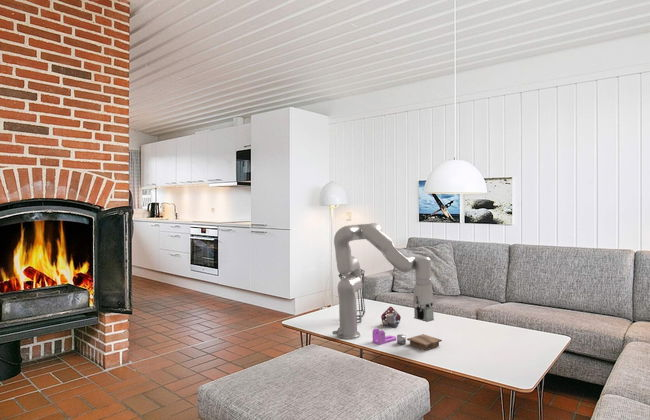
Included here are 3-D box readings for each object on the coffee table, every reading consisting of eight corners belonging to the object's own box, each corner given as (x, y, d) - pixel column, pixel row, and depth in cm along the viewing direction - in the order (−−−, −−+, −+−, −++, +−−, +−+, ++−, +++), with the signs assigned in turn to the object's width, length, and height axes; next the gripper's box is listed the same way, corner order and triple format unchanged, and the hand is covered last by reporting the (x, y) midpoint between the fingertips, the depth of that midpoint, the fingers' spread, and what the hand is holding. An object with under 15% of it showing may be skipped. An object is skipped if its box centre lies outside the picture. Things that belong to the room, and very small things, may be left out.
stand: (425, 351, 202) (425, 344, 202) (407, 344, 212) (407, 338, 212) (441, 345, 209) (441, 339, 209) (423, 339, 219) (423, 334, 219)
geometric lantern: (366, 324, 248) (363, 266, 248) (339, 324, 251) (337, 266, 250) (367, 317, 264) (365, 262, 263) (342, 317, 266) (340, 262, 266)
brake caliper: (400, 318, 252) (400, 305, 245) (401, 333, 243) (400, 321, 236) (381, 317, 254) (380, 305, 247) (381, 333, 246) (380, 320, 238)
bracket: (379, 345, 213) (379, 331, 212) (372, 342, 217) (372, 328, 217) (398, 340, 220) (398, 326, 220) (391, 337, 224) (391, 324, 224)
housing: (414, 318, 212) (413, 306, 212) (420, 316, 215) (420, 305, 215) (427, 322, 205) (427, 309, 205) (434, 320, 208) (433, 308, 208)
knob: (401, 345, 211) (401, 337, 211) (395, 343, 214) (395, 335, 214) (407, 343, 213) (407, 336, 213) (401, 341, 217) (401, 333, 217)
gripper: (428, 278, 218) (429, 313, 218) (405, 282, 208) (406, 319, 208) (440, 280, 212) (441, 316, 212) (417, 284, 202) (418, 322, 202)
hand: (424, 317), depth 210 cm, fingers closed on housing, 5 cm apart
